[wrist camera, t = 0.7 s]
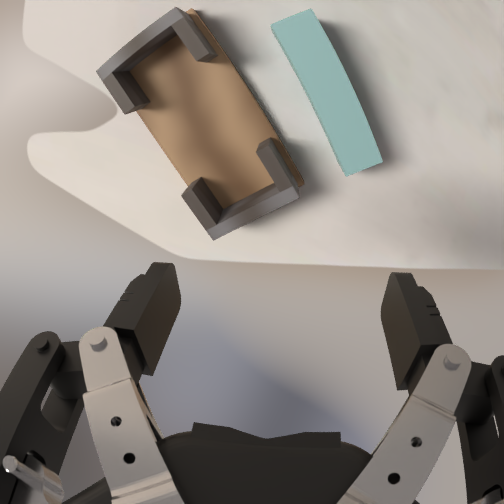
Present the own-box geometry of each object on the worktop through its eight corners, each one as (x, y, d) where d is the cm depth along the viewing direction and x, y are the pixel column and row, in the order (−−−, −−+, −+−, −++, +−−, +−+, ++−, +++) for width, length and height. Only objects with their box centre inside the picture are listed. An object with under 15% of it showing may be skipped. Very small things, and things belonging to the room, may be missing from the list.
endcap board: (194, 10, 22) (179, 0, 18) (303, 180, 30) (306, 198, 26) (114, 70, 25) (90, 72, 22) (219, 223, 34) (210, 245, 30)
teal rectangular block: (307, 18, 22) (311, 8, 18) (370, 149, 28) (383, 161, 24) (272, 32, 23) (270, 24, 19) (337, 162, 29) (346, 176, 25)
